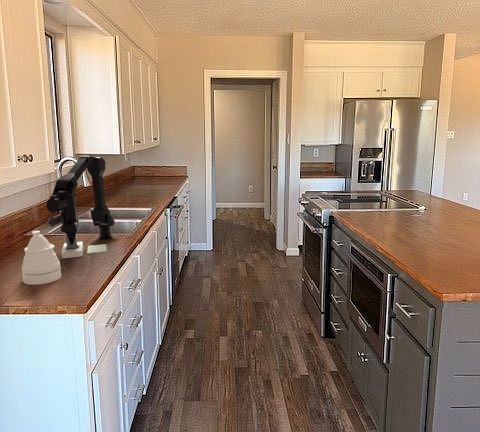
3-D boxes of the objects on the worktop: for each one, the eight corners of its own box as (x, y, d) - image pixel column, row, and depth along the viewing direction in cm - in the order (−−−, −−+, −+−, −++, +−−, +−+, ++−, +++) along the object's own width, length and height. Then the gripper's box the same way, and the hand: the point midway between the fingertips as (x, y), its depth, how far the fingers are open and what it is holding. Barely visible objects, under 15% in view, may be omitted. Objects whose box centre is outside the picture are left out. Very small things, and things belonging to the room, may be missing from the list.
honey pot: (59, 282, 157) (54, 232, 153) (20, 286, 153) (13, 236, 149) (63, 270, 169) (58, 225, 165) (26, 274, 165) (20, 228, 161)
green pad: (87, 246, 202) (87, 245, 202) (106, 245, 204) (106, 244, 204) (87, 253, 190) (87, 252, 190) (106, 251, 193) (106, 250, 193)
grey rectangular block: (68, 250, 193) (66, 232, 192) (77, 249, 195) (76, 231, 193) (67, 252, 190) (65, 234, 188) (77, 251, 191) (75, 233, 189)
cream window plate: (64, 248, 200) (64, 243, 199) (83, 246, 202) (82, 241, 201) (62, 258, 185) (61, 252, 184) (82, 256, 187) (81, 250, 187)
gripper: (50, 205, 195) (54, 239, 198) (45, 213, 177) (49, 250, 180) (76, 203, 198) (80, 237, 201) (75, 211, 181) (78, 247, 184)
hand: (72, 243), depth 191 cm, fingers closed on grey rectangular block, 4 cm apart
